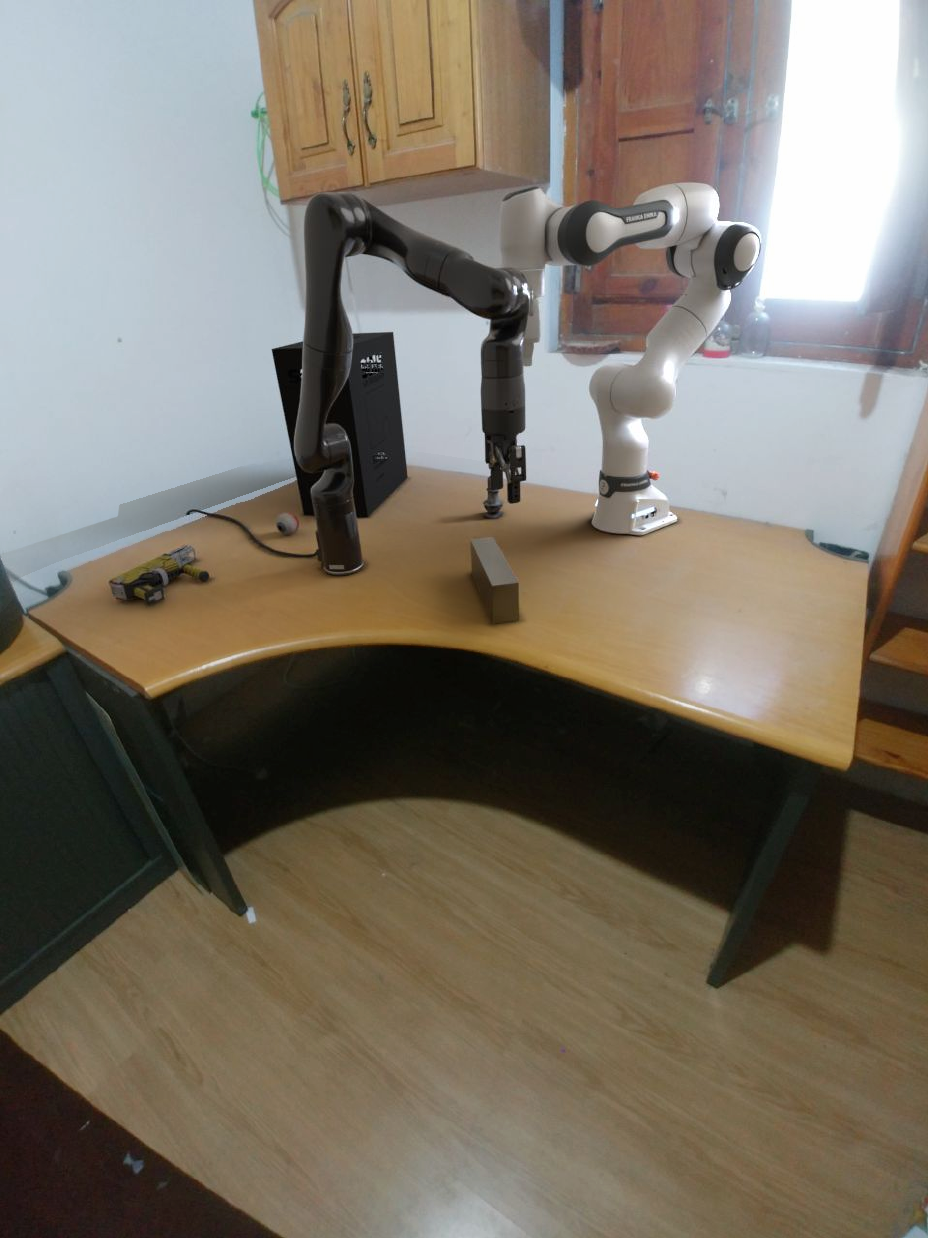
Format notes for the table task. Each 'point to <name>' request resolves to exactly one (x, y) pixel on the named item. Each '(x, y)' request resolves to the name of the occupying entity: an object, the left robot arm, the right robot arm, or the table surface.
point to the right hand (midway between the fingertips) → (523, 362)
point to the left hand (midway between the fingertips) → (505, 495)
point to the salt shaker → (493, 502)
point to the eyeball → (287, 523)
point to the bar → (495, 580)
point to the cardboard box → (355, 419)
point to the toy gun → (155, 576)
